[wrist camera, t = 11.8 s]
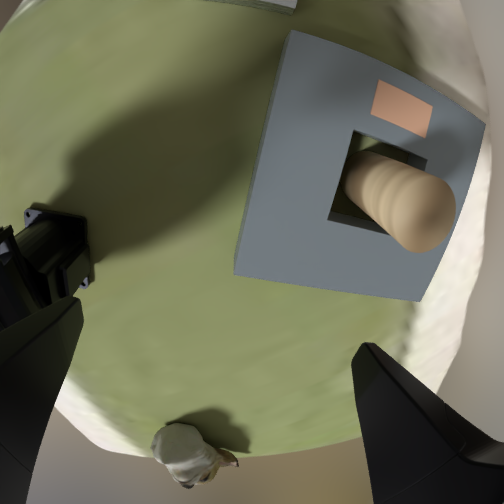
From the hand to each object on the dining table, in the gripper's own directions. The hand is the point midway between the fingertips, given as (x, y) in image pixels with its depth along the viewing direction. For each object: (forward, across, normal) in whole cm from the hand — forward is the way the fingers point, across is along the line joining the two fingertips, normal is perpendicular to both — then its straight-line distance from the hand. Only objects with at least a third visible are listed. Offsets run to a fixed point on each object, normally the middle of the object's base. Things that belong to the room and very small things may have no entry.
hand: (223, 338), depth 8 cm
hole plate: (+13, -9, -4) cm, 16 cm away
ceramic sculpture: (+13, 0, +34) cm, 37 cm away
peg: (+13, -9, -4) cm, 16 cm away
